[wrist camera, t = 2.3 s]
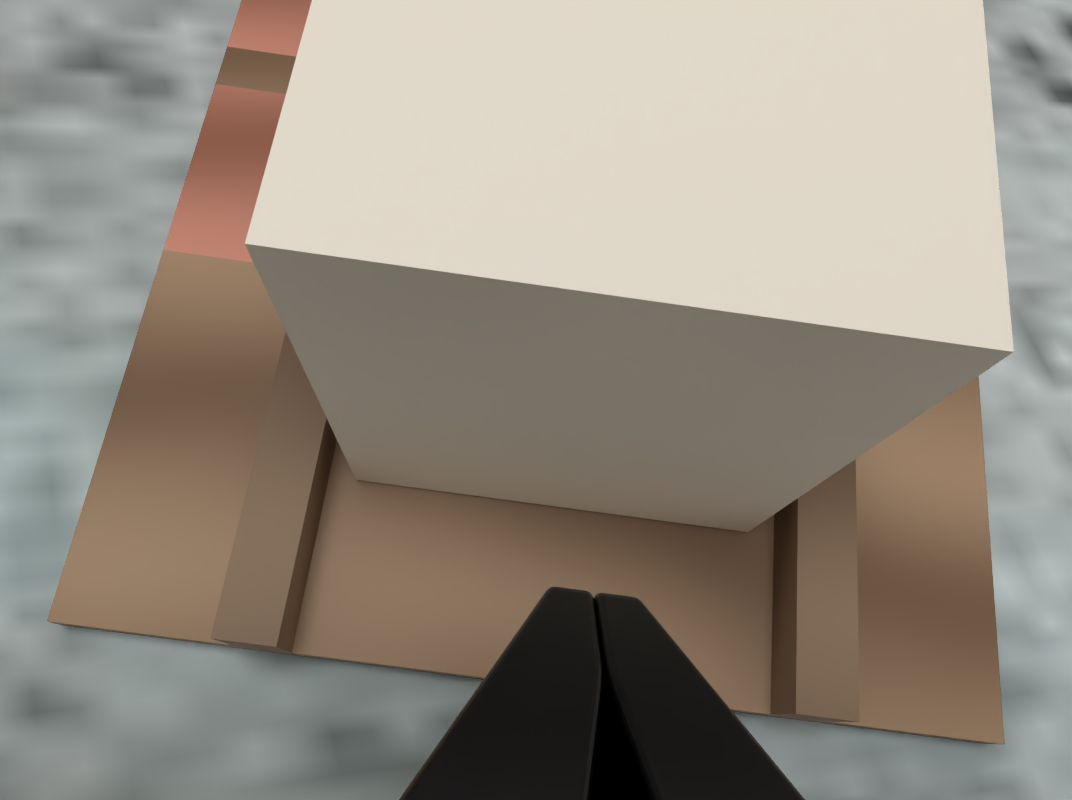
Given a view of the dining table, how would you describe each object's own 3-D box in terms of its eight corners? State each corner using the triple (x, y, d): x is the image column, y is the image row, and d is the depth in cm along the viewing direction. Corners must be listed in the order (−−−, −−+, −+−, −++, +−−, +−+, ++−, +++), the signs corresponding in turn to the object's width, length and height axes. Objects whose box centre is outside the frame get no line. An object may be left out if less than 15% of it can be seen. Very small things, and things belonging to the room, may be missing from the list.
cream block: (747, 532, 15) (1014, 351, 8) (355, 480, 15) (244, 243, 8) (755, 285, 17) (977, -56, 10) (404, 235, 17) (354, -151, 9)
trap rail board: (984, 743, 15) (1132, 750, 12) (63, 625, 15) (-59, 596, 11) (929, -117, 22) (1011, -264, 19) (319, -211, 22) (292, -379, 19)
